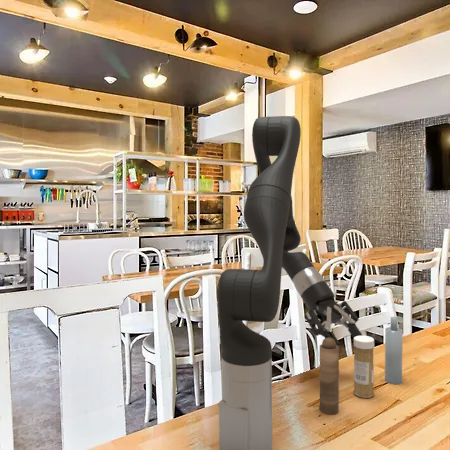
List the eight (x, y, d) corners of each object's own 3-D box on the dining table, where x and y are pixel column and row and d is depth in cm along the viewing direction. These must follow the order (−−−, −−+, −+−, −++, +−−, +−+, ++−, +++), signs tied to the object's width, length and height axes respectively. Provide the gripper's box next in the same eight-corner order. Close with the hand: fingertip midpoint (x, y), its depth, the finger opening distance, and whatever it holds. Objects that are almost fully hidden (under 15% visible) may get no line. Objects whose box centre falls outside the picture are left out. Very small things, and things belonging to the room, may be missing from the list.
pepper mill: (333, 416, 90) (333, 342, 89) (316, 410, 92) (316, 338, 91) (341, 409, 93) (341, 337, 92) (324, 403, 95) (324, 333, 94)
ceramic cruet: (399, 385, 104) (399, 321, 103) (382, 381, 106) (383, 318, 105) (404, 380, 107) (405, 317, 106) (387, 376, 109) (388, 314, 108)
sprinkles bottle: (378, 395, 99) (378, 338, 98) (365, 400, 96) (365, 342, 96) (361, 388, 103) (362, 333, 102) (349, 393, 100) (349, 337, 99)
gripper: (300, 283, 104) (338, 342, 96) (338, 276, 113) (376, 329, 104) (285, 301, 109) (320, 358, 100) (323, 292, 117) (358, 345, 109)
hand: (348, 343), depth 102 cm, fingers open, 8 cm apart
